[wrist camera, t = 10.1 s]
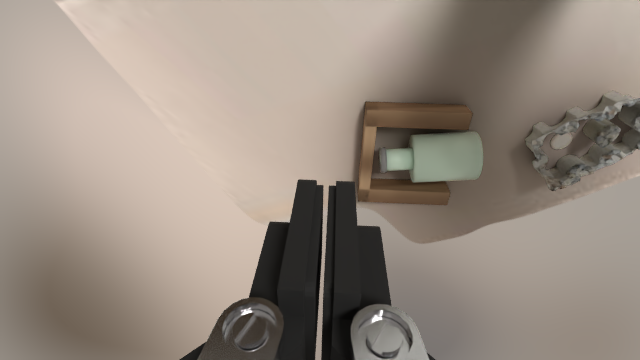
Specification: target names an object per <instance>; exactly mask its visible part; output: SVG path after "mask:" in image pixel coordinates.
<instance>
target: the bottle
mask: <svg viewBox="0 0 640 360" xmlns="http://www.w3.org/2000/svg"><path fill="white" fill-rule="evenodd" d="M482 167H483V147H482V142H481V139H480V136H479V135H478V133H477V132H475V131H471V132H454V133H436V134H418V135H411V136H410V139H409V147H408V148H399V149H386V148H385V147H383V148H379V168H380V173H386V172H387V171H396V170H409V172H410V177H411V180H412V182H436V181H459V180H476V179H478V178H479V176H480V174H481V171H482Z"/></svg>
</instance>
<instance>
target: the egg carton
mask: <svg viewBox="0 0 640 360" xmlns="http://www.w3.org/2000/svg"><path fill="white" fill-rule="evenodd" d="M622 105H625V106H624V107H623V108H622ZM621 108H622V109H621ZM617 112H619V113H618V119H619V120H620V121H622V122H623V123H625V124H627V125H628V126H630V127H632V129H631V130H629V131H628V132H626V133H625V134H624V136H623V137H622V141H621V142H619V143H617V144H614V145H611V143H612V142H613V141H615V139H616V138H617V137H618V135H619V133H620V131H621V129H620V128H619V127H618V126H617V125H615V124H613V123H611V122H610V121H608V120H610V119H612V118H614V115H616V114H617ZM588 116H590V119H591V120H589V121H588V122H587V123H586V124H585V126H584V127H583V133H584V134H585V135H586V136H587V137H589V138H590V139H591V140H593V141H594V142H595V143H596V144H594V145H593V146H592V147H591V148H590V149H589V151H588V154H586V155H584V156H582V157H580V158H578V157H576V156H575V155H566V156H564V157H562V158H560V159H559V160H558V162H557V164H556V167H554V168H552V169H549V170H546V169H545V168H544V167H545V166H546V165H547V162H548V156H547V155H546V154H545V153H544V152H543V151H542V150H541V149H540V148H539V147H541V146H542V145H543V142H544V139H545V137H546V136H547V135H548V134H550V133H556V135H555V136H554V137H553V138H552V139H551V141H550V146H551V148H553V149H555V150H559V149H563V148H566V147H567V146H568V145H569V144H570V143H571V141H572V135H571V134H570V133H569V132H576V130H577V129H578V127H579V126H580V125H579V123H578V121H579V120H582V119H583V120H586V119H589V118H588ZM525 142H526V145H527V146H528V147H529V149H530V150H532V152H533V153H534V155H535V157H536V159H535V160H533V161H532V164H533V167H534V168H535V169H536V170H537V172H538V173H539V174H541V176H542V177H545V179H546V184H547V186H548V188H549V189H550V190H552V191H556V190H557V189H563V188H566V187H567V186H569V185H573V184H574V183H576V182H578V181H580V177H582V176H585V175H589V174H593V173H594V172H595V171H596V170H598V169H601V168H603V167H605V166H609V165H613V164H614V163H616V162H618V161H620V160H621V159H623V158H625V157H626V156H627V155H630V154H632V153H633V152H634V151H635V150H636V149H639V150H640V98H638V99H636V98H633V97H631V96H630V95H625V96H624V95H621V94H619V93H618V92H616V91H611V92H608V93H606V94H604V95H603V98H602V101H601V102H600V104H599V105H598V106H597V107H596V108H594V109H592V110H590V111H583V110H582V109H580V108H579V107H574V108H572V109H569V110H568V111H567V113H566V117H565V118H564V120H563V121H562V122H561V123H559V124H557V125H555V126H547V125H546V124H545V123H544V122H540V123H537V124H535V125H534V126H533V131H532V133H531V134H530V135H529V136H528V137H527V138H526V139H525Z"/></svg>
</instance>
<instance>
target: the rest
mask: <svg viewBox="0 0 640 360" xmlns="http://www.w3.org/2000/svg"><path fill="white" fill-rule="evenodd" d="M472 115H473V113H472V112H471V111H470V110H469V108H468V107H467V106H466V105H453V104H422V103H391V102H365V113H364V123H363V134H362V145H361V156H360V167H359V178H358V189H357V192H358V201H362V202H386V203H409V204H433V205H447V204H448V200H449V197H450V191H449V188H448V186H447V184H446V182H445V181H436V182H412V180H397V179H372V178H371V173H372V165H373V156H374V147H375V139H376V130H377V127H395V128H424V129H453V130H468V129H469V125H470V122H471V118H472Z"/></svg>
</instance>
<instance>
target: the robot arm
mask: <svg viewBox="0 0 640 360" xmlns="http://www.w3.org/2000/svg"><path fill="white" fill-rule="evenodd" d="M322 224H323V185H317V181H316V180H298V183H297V188H296V193H295V199H294V204H293V209H292V214H291V219H290V223H288V222H270V223H269V225H268V229H267V232H266V236H265V240H264V244H263V247H262V251H261V254H260V259H259V262H258V266H257V269H256V273H255V277H254V280H253V284H252V288H251V292H250V295H249V298H246V299H241V300H239V301H237V302H235V303H233V304H232V305H230V306H229V307H228V308H227V309H226V310H224V311H223V313H222V314H221V316H220V317H219V319H218V320H217V322H216V324H215V326H214V328H213V330H212V332H211V334H210V336H209V338H208V340H207V342H205V343H204V344H202V345H201V346H199V347H198V348H196V349H195V350H193V351H192V352H190V353H189V354H187V355H186V356H184V357H183V358H181V359H180V360H315V351H316V336H317V320H318V305H319V290H320V275H321V274H320V273H321V259H322ZM321 360H435V359H434V358H433V357H432V356H430V355H429V354H428V353H427V352H426V350H425V347H424V344H423V341H422V339H421V336H420V333H419V331H418V329H417V327H416V325H415V323H414V321H413V320H412V319H411V318H410V317H409V316H408V315H407V314H406V313H404V312H403V311H401V310H400V309H398V308H396V307H393V306H391V300H390V293H389V286H388V279H387V273H386V265H385V258H384V251H383V244H382V237H381V231H380V227H376V226H357V214H356V197H355V182H346V181H336V186H329V197H328V216H327V235H326V253H325V273H324V294H323V325H322V358H321Z"/></svg>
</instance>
